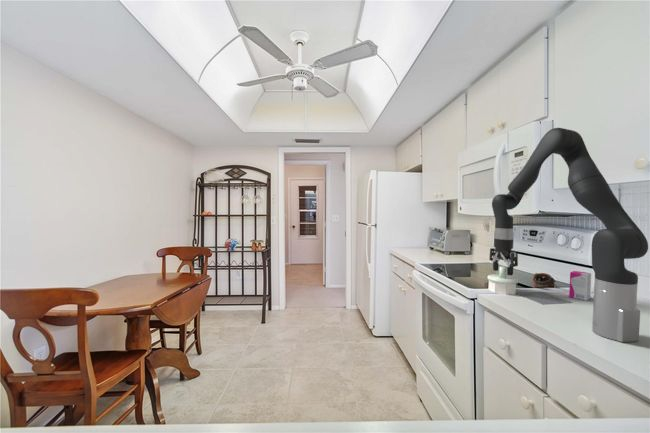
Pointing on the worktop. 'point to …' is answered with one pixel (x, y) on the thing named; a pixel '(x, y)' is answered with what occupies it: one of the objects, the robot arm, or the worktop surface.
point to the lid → (502, 277)
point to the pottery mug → (543, 280)
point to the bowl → (502, 288)
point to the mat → (543, 298)
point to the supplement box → (580, 285)
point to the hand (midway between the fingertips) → (502, 272)
